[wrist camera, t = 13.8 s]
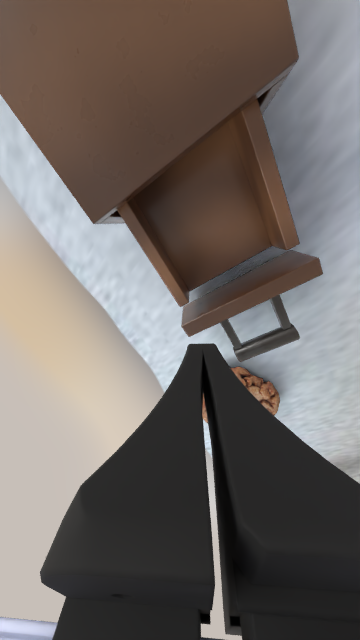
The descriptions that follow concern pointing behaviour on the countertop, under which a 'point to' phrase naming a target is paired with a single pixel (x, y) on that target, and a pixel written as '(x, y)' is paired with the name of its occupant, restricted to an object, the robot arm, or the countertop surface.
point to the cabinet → (135, 83)
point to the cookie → (255, 391)
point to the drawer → (223, 230)
